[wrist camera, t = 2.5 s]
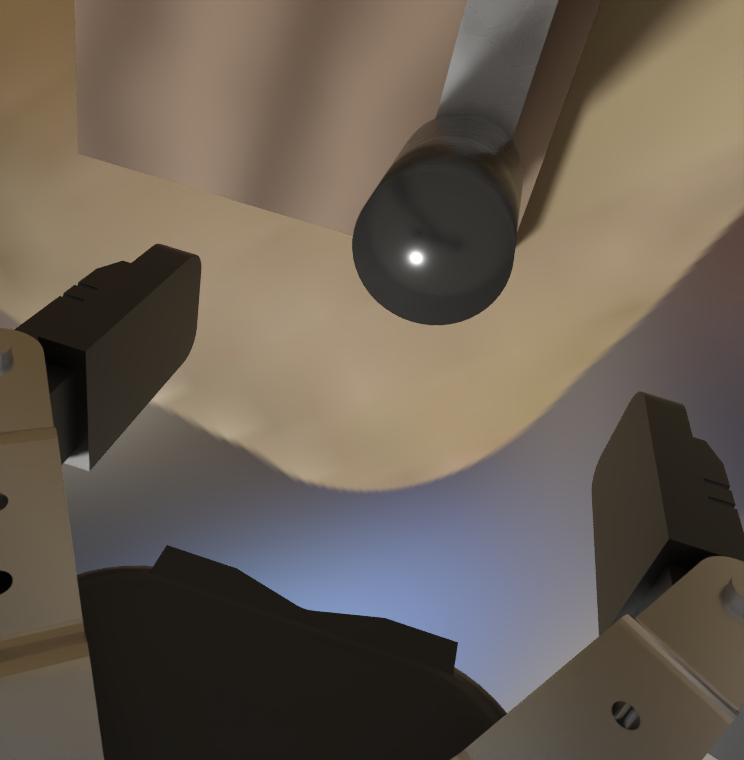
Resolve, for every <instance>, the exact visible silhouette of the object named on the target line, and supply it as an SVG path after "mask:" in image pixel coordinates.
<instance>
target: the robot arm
mask: <svg viewBox="0 0 744 760" xmlns="http://www.w3.org/2000/svg"><path fill="white" fill-rule="evenodd" d="M200 279H201V261H200V258H199V256H197V255H195V254H192V253H188V252H185V251H182V250H178V249H175V248H172V247H169V246H165V245H162V244H155V245H154V246H152V247H151V248H150V249H149V250H147V251H146V252H145V253H143V254H142V255H141V256H140V257H138V258H137V259H136V260H135V261H133V262H132V263H129V262H125V261H120V262H117V263H114V264H111V265H108V266H104V267H101V268H98V269H96V270H94V271H93V272H92V273H90V274H89V275H88V276H86V277H85V278H84V279H82V280H81V281H79V282H78V285H77V286H76V285H74V286H73V287H71V288H70V289H69V290H67V291H66V292H65V293H64V294H63V297H61V296H59V297H58V298H57V299H55V300H54V301H52V302H51V303H50V304H48V305H47V306H46V307H44V308H43V309H42V310H40V311H39V312H38V313H36V314H35V315H34V316H32V317H31V318H30V319H28V320H27V321H25V322H24V323H23V324H21V325H20V326H19V327H18V328H16V329H15V330H11V329H4V328H0V760H702V759H703V758H704V757H705V755H706V754H707V753H709V754H710V755H712V756H713V757H715V758H716V759H718V760H744V532H743V529H742V525H741V522H740V518H739V515H738V512H737V509H734V506H735V502H734V498H733V495H732V491H730V490H729V487H730V485H729V481H728V478H727V475H726V472H725V468H724V465H723V463H722V462H721V460H720V459H719V458H718V457H717V455H716V454H715V453H714V451H713V450H712V449H711V447H710V446H709V445H708V444H707V442H706V441H704V440H701V439H697V438H694V437H693V436H692V432H691V428H690V424H689V420H688V416H687V412H686V409H685V406H684V405H683V404H680V403H677V402H674V401H671V400H667V399H664V398H661V397H657V396H654V395H651V394H647V393H644V392H638V393H636V394H635V395H634V397H633V398H632V399H631V401H630V403H629V405H628V406H627V408H626V410H625V412H624V414H623V416H622V418H621V420H620V421H619V423H618V425H617V427H616V429H615V431H614V432H613V434H612V436H611V438H610V440H609V442H608V444H607V445H606V448H605V449H604V451H603V453H602V455H601V457H600V459H599V461H598V464H597V466H596V469H595V473H594V477H593V482H592V507H593V526H594V546H595V565H596V583H597V584H596V585H597V604H598V622H599V637H598V638H597V639H596V640H594V641H593V642H592V643H591V644H589V645H588V646H587V647H586V648H585V649H584V650H582V651H581V652H580V653H579V654H577V655H576V656H575V657H574V658H573V659H572V660H570V661H569V662H568V663H567V664H566V665H564V666H563V667H562V668H561V669H560V670H559V671H557V672H556V673H555V674H554V675H553V676H551V677H550V678H549V679H548V680H547V681H545V682H544V683H543V684H542V685H541V686H539V687H538V688H537V689H536V690H535V691H533V692H532V693H531V694H530V695H529V696H527V697H526V698H525V699H524V700H523V701H522V702H520V703H519V704H518V705H517V706H516V707H514V708H513V709H512V710H511V711H510V712H508V713H506V712H505V710H504V709H503V708H502V707H501V706H500V705H499V703H498V702H497V701H496V700H495V699H494V698H493V697H492V696H491V695H490V694H489V693H488V692H487V691H486V690H484V689H483V688H482V687H481V686H480V685H479V684H477V683H476V682H475V681H474V680H472V679H471V678H470V677H468V676H467V675H466V674H464V673H462V672H461V671H460V670H458V669H456V668H455V667H454V665H455V658H456V652H457V645H458V642H455V641H452V640H449V639H446V638H443V637H440V636H437V635H434V634H431V633H428V632H425V631H422V630H419V629H416V628H413V627H410V626H407V625H404V624H401V623H398V622H395V621H392V620H389V619H386V618H379V617H369V616H360V615H350V614H340V613H330V612H320V611H311V610H306V609H303V608H301V607H299V606H297V605H295V604H294V603H292V602H290V601H289V600H287V599H285V598H284V597H282V596H281V595H279V594H277V593H276V592H274V591H272V590H271V589H269V588H268V587H266V586H264V585H263V584H261V583H259V582H257V581H256V580H254V579H253V578H251V577H250V576H248V575H246V574H245V573H243V572H242V571H240V570H238V569H237V568H233V567H231V566H227V565H224V564H222V563H219V562H216V561H212V560H210V559H207V558H204V557H201V556H198V555H194V554H192V553H189V552H186V551H183V550H180V549H177V548H174V547H171V546H168V545H167V546H166V547H165V549H164V551H163V552H162V554H161V555H160V557H159V558H158V560H157V562H156V563H155V565H154V566H119V567H108V568H103V569H97V570H93V571H88V572H84V573H81V574H78V575H77V574H76V567H75V560H74V553H73V546H72V538H71V531H70V523H69V516H68V509H67V502H66V495H65V487H64V480H63V473H62V464H63V463H66V464H69V465H72V466H75V467H78V468H81V469H84V470H87V471H90V470H91V469H92V468H93V467H94V465H95V464H96V463H97V462H98V461H99V460H100V459H101V457H102V456H103V455H104V454H105V453H106V451H107V450H108V449H109V448H110V447H111V446H112V445H113V443H114V442H115V441H116V440H117V439H118V438H119V437H120V435H121V434H122V433H123V432H124V431H125V430H126V428H127V427H128V426H129V425H130V424H131V423H132V421H133V420H134V419H135V418H136V417H137V415H138V414H139V413H140V412H141V411H142V410H143V409H144V408H145V406H146V405H147V404H148V403H149V402H150V401H151V399H152V398H153V397H154V396H155V395H156V394H157V393H158V391H159V390H160V389H161V388H162V387H163V386H164V384H165V383H166V382H167V381H168V380H169V379H170V377H171V376H172V375H173V374H174V373H175V372H176V371H177V369H178V368H179V367H180V366H181V365H182V364H183V362H184V361H185V360H186V358H187V357H188V355H189V353H190V351H191V348H192V346H193V343H194V340H195V336H196V330H197V318H198V305H199V292H200Z"/></svg>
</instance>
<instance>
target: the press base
mask: <svg viewBox="0 0 744 760" xmlns="http://www.w3.org/2000/svg"><path fill="white" fill-rule="evenodd" d="M601 1H602V0H558V3H557V6H556V9H555V12H554V15H553V18H552V21H551V24H550V27H549V30H548V33H547V36H546V39H545V42H544V45H543V48H542V51H541V54H540V57H539V60H538V63H537V66H536V69H535V72H534V75H533V78H532V81H531V84H530V87H529V90H528V93H527V96H526V99H525V102H524V105H523V108H522V111H521V114H520V117H519V120H518V123H517V126H516V129H515V132H514V135H513V138H512V141H513V143H514V145H515V146H516V148H517V150H518V153H519V155H520V158H521V162H522V167H523V187H522V195H521V204H520V212H519V220H518V228H519V226H520V223H521V220H522V217H523V215H524V212H525V209H526V207H527V204H528V201H529V198H530V196H531V193H532V190H533V187H534V185H535V182H536V179H537V176H538V174H539V171H540V168H541V165H542V163H543V160H544V157H545V154H546V152H547V149H548V146H549V143H550V141H551V138H552V135H553V132H554V130H555V127H556V124H557V121H558V119H559V116H560V113H561V110H562V108H563V105H564V102H565V99H566V97H567V94H568V91H569V89H570V86H571V83H572V80H573V78H574V75H575V72H576V69H577V67H578V64H579V61H580V58H581V56H582V53H583V50H584V47H585V45H586V42H587V39H588V36H589V34H590V31H591V28H592V25H593V23H594V20H595V17H596V14H597V12H598V9H599V6H600V3H601ZM466 2H467V0H74V5H75V43H76V81H77V119H78V154H81V155H85V156H88V157H91V158H95V159H98V160H101V161H105V162H108V163H111V164H115V165H118V166H121V167H125V168H128V169H131V170H135V171H138V172H141V173H145V174H148V175H151V176H155V177H158V178H161V179H165V180H168V181H171V182H175V183H178V184H181V185H185V186H188V187H191V188H195V189H198V190H201V191H205V192H208V193H211V194H215V195H218V196H221V197H225V198H228V199H231V200H235V201H238V202H241V203H245V204H248V205H251V206H255V207H258V208H261V209H265V210H268V211H271V212H275V213H278V214H281V215H285V216H288V217H291V218H295V219H298V220H301V221H305V222H308V223H311V224H315V225H318V226H321V227H325V228H328V229H331V230H335V231H338V232H341V233H345V234H348V235H351V236H353V232H354V228H355V224H356V221H357V219H358V216H359V214H360V212H361V210H362V209H363V207H364V205H365V204H366V202H367V201H368V199H369V198H370V196H371V195H372V193H373V192H374V190H375V189H376V187H377V186H378V184H379V183H380V181H381V180H382V178H383V177H384V175H385V174H386V172H387V171H388V169H389V168H390V166H391V165H392V163H393V162H394V160H395V159H396V158H397V156H398V155H399V153H400V152H401V150H402V149H403V147H404V146H405V144H406V143H407V141H408V140H409V138H410V137H411V136H412V135H413V134H414V133H415V132H416V131H417V130H418V129H419V128H420V127H421V126H423V125H424V124H426V123H427V122H429V121H431V120H433V119H435V118H436V115H437V111H438V108H439V104H440V100H441V96H442V93H443V89H444V85H445V81H446V77H447V74H448V70H449V66H450V62H451V59H452V55H453V51H454V47H455V43H456V40H457V36H458V32H459V28H460V24H461V21H462V17H463V13H464V9H465V6H466ZM518 228H517V231H518Z"/></svg>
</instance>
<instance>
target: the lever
mask: <svg viewBox="0 0 744 760" xmlns="http://www.w3.org/2000/svg"><path fill="white" fill-rule="evenodd" d="M557 3H558V0H467V2H466V6H465V9H464V13H463V17H462V21H461V24H460V28H459V32H458V36H457V40H456V43H455V47H454V51H453V55H452V59H451V62H450V66H449V70H448V74H447V77H446V81H445V85H444V89H443V93H442V96H441V100H440V104H439V108H438V111H437V115H436V118H435V119H433V120H431V121H429V122H427V123H426V124H424V125H423V126H421V127H420V128H419V129H418V130H417V131H416V132H415V133H414V134H413V135H412V136H411V137H410V138H409V140H408V141H407V143H406V144H405V146H404V147H403V149H402V150H401V152H400V153H399V155H398V156H397V158H396V159H395V160H394V162H393V163H392V165H391V166H390V168H389V169H388V171H387V172H386V174H385V175H384V177H383V178H382V180H381V181H380V183H379V184H378V186H377V187H376V189H375V190H374V192H373V193H372V195H371V196H370V198H369V199H368V201H367V202H366V204H365V205H364V207H363V209H362V210H361V212H360V214H359V216H358V219H357V221H356V224H355V228H354V232H353V239H352V251H353V259H354V263H355V267H356V270H357V272H358V275H359V277H360V279H361V281H362V283H363V285H364V286H365V288H366V289H367V290H368V292H369V293H370V294H371V296H372V297H373V298H374V299H375V300H376V301H377V302H378V303H379V304H381V305H382V306H383V307H384V308H386V309H387V310H389V311H390V312H392V313H393V314H395V315H397V316H399V317H401V318H403V319H406V320H409V321H412V322H416V323H420V324H427V325H447V324H453V323H457V322H461V321H464V320H467V319H469V318H471V317H473V316H475V315H477V314H479V313H480V312H482V311H483V310H485V309H486V308H487V307H489V306H490V305H491V304H492V303H493V302H494V301H495V300H496V299H497V297H498V296H499V295H500V294H501V292H502V291H503V289H504V288H505V286H506V284H507V282H508V279H509V277H510V274H511V271H512V267H513V261H514V253H515V245H516V237H517V228H518V220H519V212H520V204H521V195H522V187H523V167H522V162H521V158H520V155H519V153H518V150H517V148H516V146H515V145H514V143H513V141H512V138H513V135H514V132H515V129H516V126H517V123H518V120H519V117H520V114H521V111H522V108H523V105H524V102H525V99H526V96H527V93H528V90H529V87H530V84H531V81H532V78H533V75H534V72H535V69H536V66H537V63H538V60H539V57H540V54H541V51H542V48H543V45H544V42H545V39H546V36H547V33H548V30H549V27H550V24H551V21H552V18H553V15H554V12H555V9H556V6H557Z"/></svg>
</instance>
